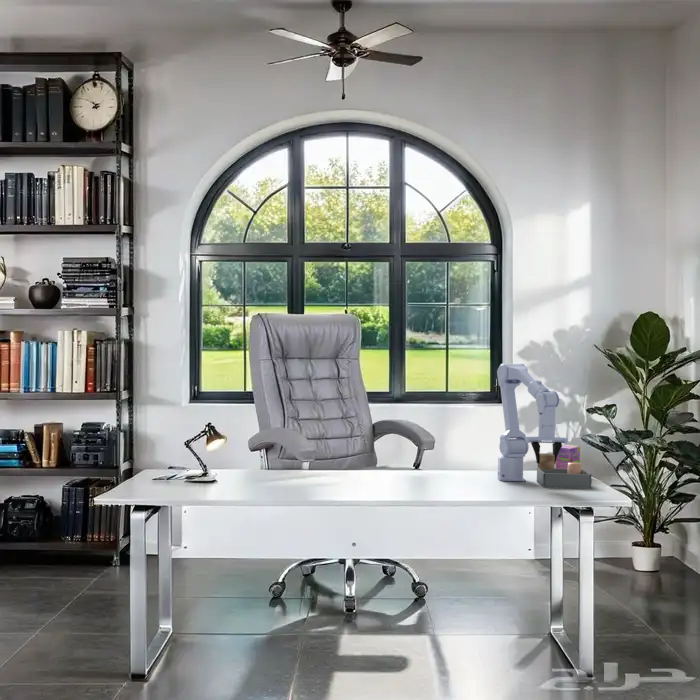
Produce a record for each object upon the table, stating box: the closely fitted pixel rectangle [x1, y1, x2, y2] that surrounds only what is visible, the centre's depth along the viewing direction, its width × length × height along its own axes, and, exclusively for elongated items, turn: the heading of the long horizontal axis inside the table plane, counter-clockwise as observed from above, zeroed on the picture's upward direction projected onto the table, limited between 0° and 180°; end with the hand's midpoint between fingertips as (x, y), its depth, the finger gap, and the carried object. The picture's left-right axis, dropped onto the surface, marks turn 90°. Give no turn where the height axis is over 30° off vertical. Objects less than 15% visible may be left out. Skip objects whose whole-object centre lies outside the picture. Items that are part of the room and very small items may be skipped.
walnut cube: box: [537, 452, 556, 470], centre depth 323 cm, size 5×5×5 cm
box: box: [555, 444, 581, 469], centre depth 354 cm, size 10×6×12 cm, turn 143°
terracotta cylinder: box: [567, 462, 582, 474], centre depth 337 cm, size 5×5×7 cm
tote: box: [536, 467, 592, 489], centre depth 334 cm, size 17×13×5 cm
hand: (545, 463), depth 324 cm, fingers closed on walnut cube, 5 cm apart
